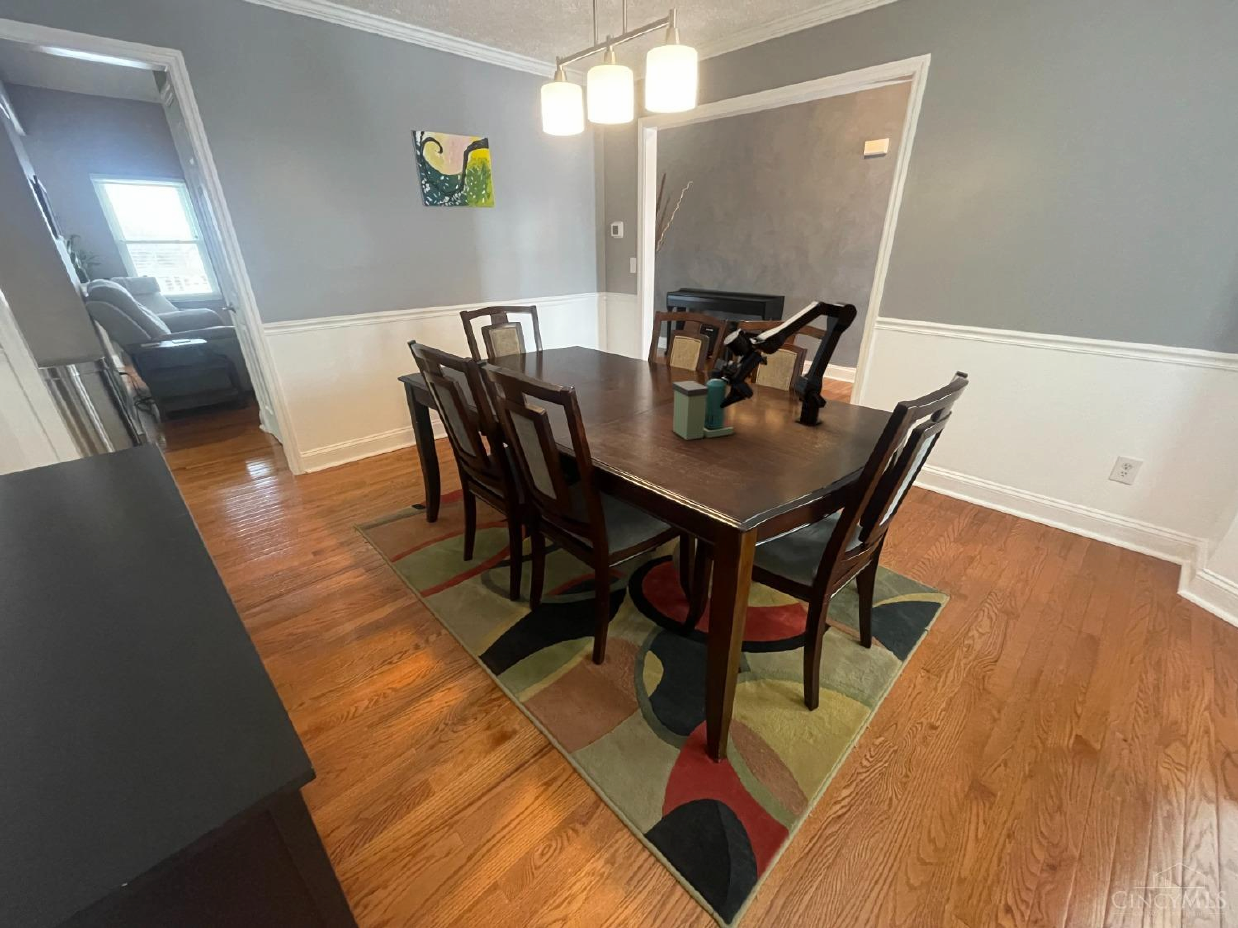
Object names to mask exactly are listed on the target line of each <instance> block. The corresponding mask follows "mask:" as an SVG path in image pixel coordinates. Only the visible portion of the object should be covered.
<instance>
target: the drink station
mask: <svg viewBox="0 0 1238 928" xmlns="http://www.w3.org/2000/svg"><path fill="white" fill-rule="evenodd" d="M708 389H709V388H708V387H707V386H705V385H703V384H701V383H699V382H696V381H694V380H685V381H683V380H682V381H674V382H672V390H673V391H674V393H673V418H672V419H673V421H672V422H673V423H672V431H673V432H674V433H675V434H677V435H678V436H679V437H681V438H683V440H686V441H689V440H694V439H695V440H696V439H702V438H704V437H706V438H707V439H709V438H710V439H711V438H716V437H722V436H728V435H733V434H734V431H735V429H734V427H733V426H730V427H729V426H728V427H724V428H723V427H722V428H719V429H712V430H711V429H708V428H707V427H705V425H704V420H705V405H706V402H705V400H706V395H707V394H708Z"/></svg>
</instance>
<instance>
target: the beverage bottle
mask: <svg viewBox="0 0 1238 928" xmlns="http://www.w3.org/2000/svg"><path fill="white" fill-rule="evenodd" d="M710 371H711V375H710V376H711V377H714V378H722V377H725V376H724V372H722V371H720V370H719V369H715V368H713V369H711V370H710ZM727 386H728V385H727V384H726V383H725V381H723V380H721V379H711V380H710V379H709V380H708V381H707V382H706V387H708V388H709V389H708V394H707V395H706V401H705V416H704V425H705V426H704V428H706V429H710V430H711V429H712V430H716V429H723V427H724V422H725V410H726V407H725V408H723V409H721V408H720V407H719V406H720V405H721V403H722V402H723V400H724V399H725V398H726V397H727Z"/></svg>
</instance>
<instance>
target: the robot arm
mask: <svg viewBox="0 0 1238 928" xmlns="http://www.w3.org/2000/svg"><path fill="white" fill-rule="evenodd" d="M857 315H858V310H857V307H856V305H854V304H853V303H848V302H843V301H842V302H841V301H837V302H835V303H828V302H825V301H823V300H822V301H821V300H814V301H812V302H811V303H810V304H809V305H808V306H806V307H804V309H802V310H800V311H799V312H797V313H796V314H795V315H793V316H791V318H789V319H788V320H786V321H784V322H783V323H782V324H781V325H779V326H776V327H774V328H771V329H768V330H766V331H764V332H762V333H760V334H759V335H757V336H756V337H751V338H749V337H748V335H747V334H746V333H745V331H744V330H743V329H742V328H738V329H737V330H736V331H733V332H732V333H730V334H728V335H727V336H726V337H725V338H724V340H723V345H724V346H725V347H726V348H727V349H728V351H730V353H731V354H732V355H733V356H734V357H740V358H739V359H738V361H734V360H729V362H728V361H725V360H723V359H720V358H717V360H716V362H715V364H714V366H713V369H719V370H720V371H722V372H724V377H722V378H714V377H711V376H710V375H711V370H710V371H709V372H708V374H707V377H708V380H709V381H710V380H711V379H721V380H723V381H725V383H726V384H727V386H728V387H730V389H729V392H728V394H726V396H725V399H724V400H723V402H722V403H721V405H720V406H719V407H720V408H721V409H723V408H725V409H726V408H727V407H730V406H732V405H734V404H736V403H739V402H742V401H746V400H750V399H751V398H752V397H753V396H754V389H753V388H752V387H751V386H750V384H749V383H748V382H747V381H746V380H747V379H751V378H752V377H753V375H751V374H752V373H753V372H754V371H755V370H756V369H757V368H758V366H759V365H762V366H768V356H766V355H769V356H770V355H773V354H775V353H777V352H778V351H779V350H780V349H781V348H782V347H783V346H784V345H785V343H786V341H787V340H788V339H789V338H790V337H792V336H793V335H794V334H796V333H797V332H799V331H800V330H801V329H803V328H805V327H806V326H808V325H809V324H810V323H811V322H813V321H814V320H816V319H818V318H819V317H820V316H825V317H826V330H825V333H824V334H823V337H822V339H821V342H820V344H819V346H818V347H817V351H816V352H815V355H814V357H813V359H812V362H811V364H810V367H809V369H808V371H807V372H806V373H805V374H804V375H800V374H799V376H798V378H797V381H796V383H795V385H794V394H795V396H796V397H797V398H798V402H800V403H801V408H800V409H801V410H800V416H799V418H797V419H794V420H795V422H796V423H799V424H804V425H807V426H812V427H814V426H815V425H818V424H821V423H822V422H823V420H822V419H819V416H820V411H821V410H820V409H824V408H825V406H826V404H827V400H826V399H825V398H824V397H823V396H822V395H821V394H822V390H823V387H824V386H823V377H824V375H825V372H826V371H827V368H828V366H829V363H830V361H831V359H832V357H833V355H834V353H835V350H836V348H837V346H838V344H839V341H840V339H841V337H842V335H843V334H844V333H845V331H847V330H848V329H850V327H851V325H852V324H853V323H854V321H855V319H856V317H857ZM755 349H756V350H755ZM761 352H762V353H764V354H766V355H762V353H761ZM705 401H706V400H705Z"/></svg>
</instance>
